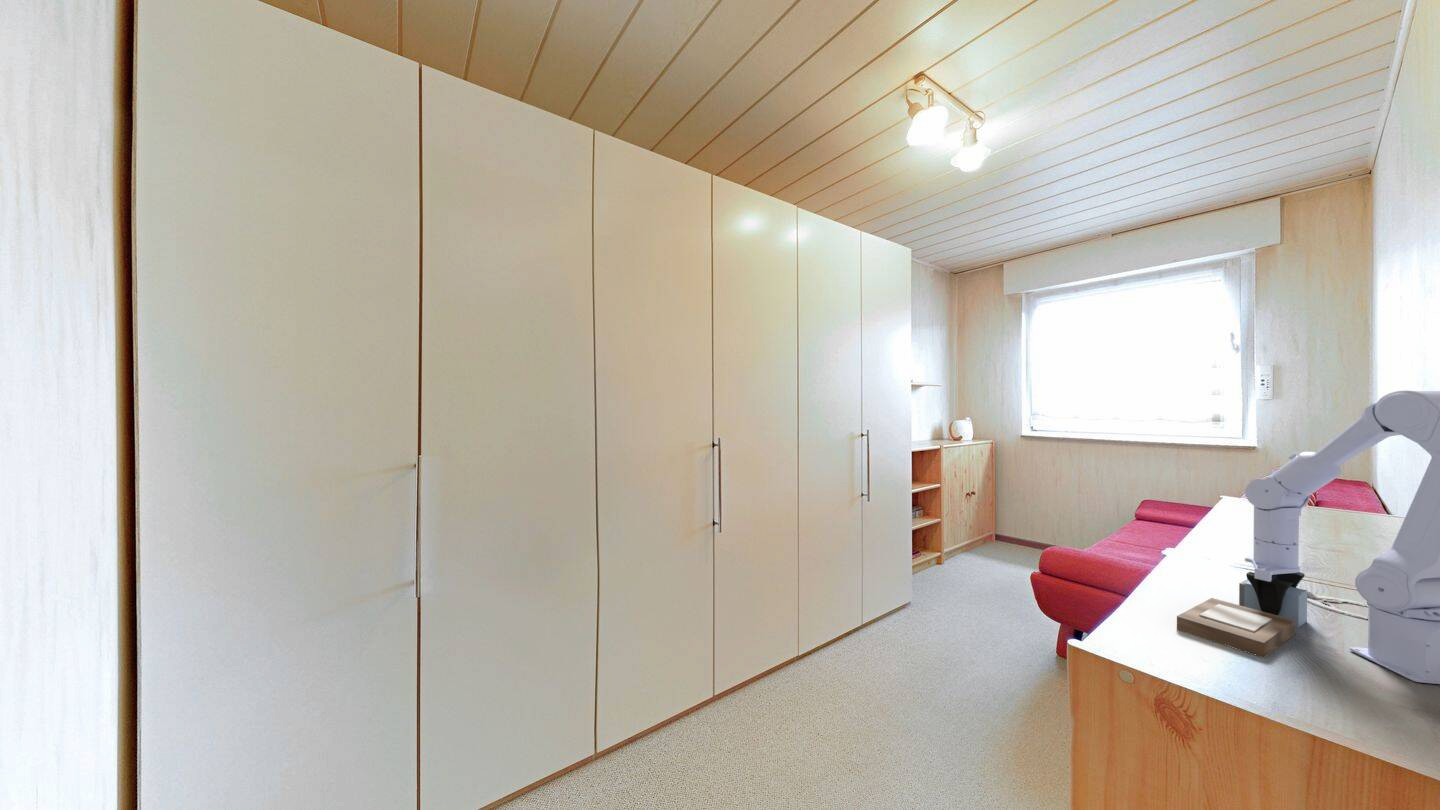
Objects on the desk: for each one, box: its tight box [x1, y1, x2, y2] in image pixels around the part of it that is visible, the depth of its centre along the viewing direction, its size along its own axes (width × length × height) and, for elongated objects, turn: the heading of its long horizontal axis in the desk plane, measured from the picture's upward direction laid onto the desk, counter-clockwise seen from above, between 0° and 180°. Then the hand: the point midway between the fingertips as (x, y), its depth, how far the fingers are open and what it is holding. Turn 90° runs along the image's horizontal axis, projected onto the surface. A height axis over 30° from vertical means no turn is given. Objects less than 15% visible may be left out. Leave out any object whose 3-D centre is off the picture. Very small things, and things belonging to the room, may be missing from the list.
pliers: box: [1307, 590, 1368, 618], centre depth 100 cm, size 10×2×15 cm
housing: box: [1238, 578, 1308, 629], centre depth 93 cm, size 8×5×6 cm, turn 28°
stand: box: [1176, 597, 1296, 658], centre depth 88 cm, size 16×11×3 cm
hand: (1275, 609), depth 93 cm, fingers closed on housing, 5 cm apart
